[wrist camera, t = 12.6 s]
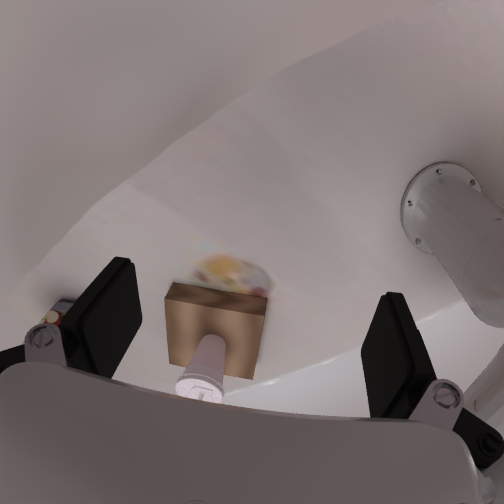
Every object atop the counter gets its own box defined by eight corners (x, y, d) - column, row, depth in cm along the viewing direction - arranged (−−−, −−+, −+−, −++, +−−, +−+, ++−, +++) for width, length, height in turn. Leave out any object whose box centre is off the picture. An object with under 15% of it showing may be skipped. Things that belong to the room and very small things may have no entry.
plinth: (267, 298, 46) (264, 316, 43) (255, 362, 53) (252, 379, 49) (173, 282, 47) (164, 298, 43) (176, 347, 54) (169, 363, 50)
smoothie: (243, 350, 46) (227, 429, 34) (210, 362, 48) (189, 436, 36) (217, 321, 44) (192, 402, 32) (184, 335, 46) (154, 410, 34)
